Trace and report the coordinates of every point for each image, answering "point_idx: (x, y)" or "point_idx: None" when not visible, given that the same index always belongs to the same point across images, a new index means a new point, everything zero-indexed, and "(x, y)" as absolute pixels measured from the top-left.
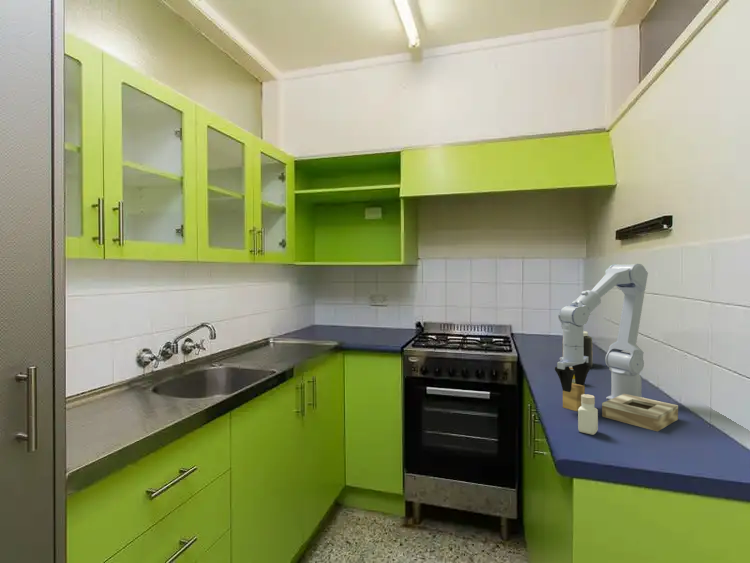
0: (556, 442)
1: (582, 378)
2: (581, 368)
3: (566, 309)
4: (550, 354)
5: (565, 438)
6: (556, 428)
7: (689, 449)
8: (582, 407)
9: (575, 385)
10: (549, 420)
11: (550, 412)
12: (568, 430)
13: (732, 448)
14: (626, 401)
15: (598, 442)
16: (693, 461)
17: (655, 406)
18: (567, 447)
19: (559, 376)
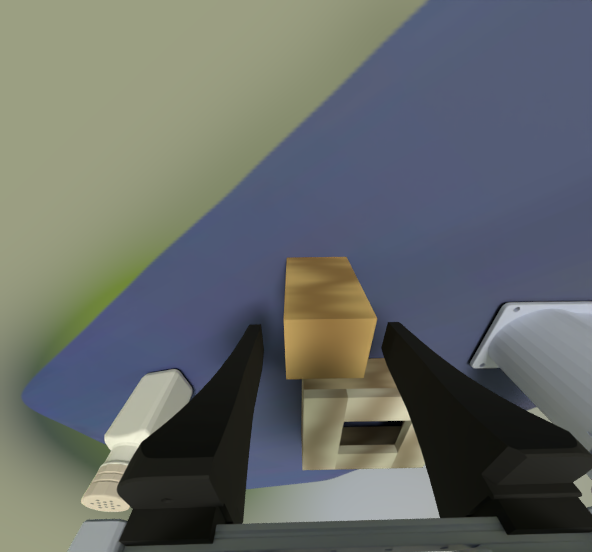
0: (44, 373)
1: (404, 392)
2: (446, 469)
3: None
4: None
5: (83, 373)
6: (105, 337)
7: (261, 462)
8: (112, 449)
9: (335, 356)
10: (129, 298)
11: (195, 259)
12: (129, 357)
13: (314, 477)
14: (374, 420)
15: None
16: None
17: (377, 454)
18: (55, 392)
19: (198, 398)
